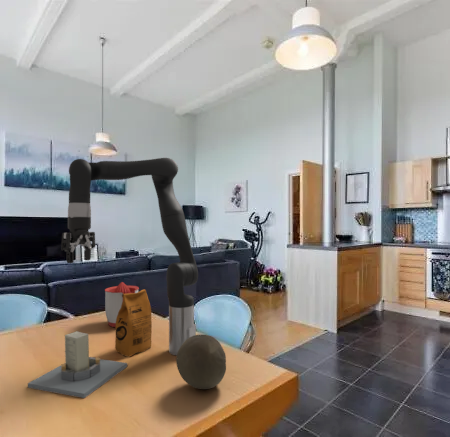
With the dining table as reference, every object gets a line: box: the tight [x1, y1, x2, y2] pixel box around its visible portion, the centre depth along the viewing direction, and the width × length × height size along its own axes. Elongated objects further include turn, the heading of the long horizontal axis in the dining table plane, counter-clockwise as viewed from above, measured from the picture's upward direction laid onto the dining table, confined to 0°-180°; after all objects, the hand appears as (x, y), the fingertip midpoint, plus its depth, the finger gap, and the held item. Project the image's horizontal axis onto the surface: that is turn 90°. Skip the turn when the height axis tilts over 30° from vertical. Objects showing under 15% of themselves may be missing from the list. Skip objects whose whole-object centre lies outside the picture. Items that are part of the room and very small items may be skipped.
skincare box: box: [64, 330, 90, 371], centre depth 98 cm, size 6×4×12 cm
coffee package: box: [114, 289, 153, 357], centre depth 120 cm, size 10×12×22 cm
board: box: [27, 358, 128, 399], centre depth 99 cm, size 20×20×1 cm
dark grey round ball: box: [175, 334, 227, 390], centre depth 92 cm, size 14×14×15 cm
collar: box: [60, 356, 101, 382], centre depth 99 cm, size 11×11×3 cm
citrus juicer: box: [104, 281, 140, 328], centre depth 150 cm, size 16×17×20 cm
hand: (79, 261), depth 113 cm, fingers open, 8 cm apart
